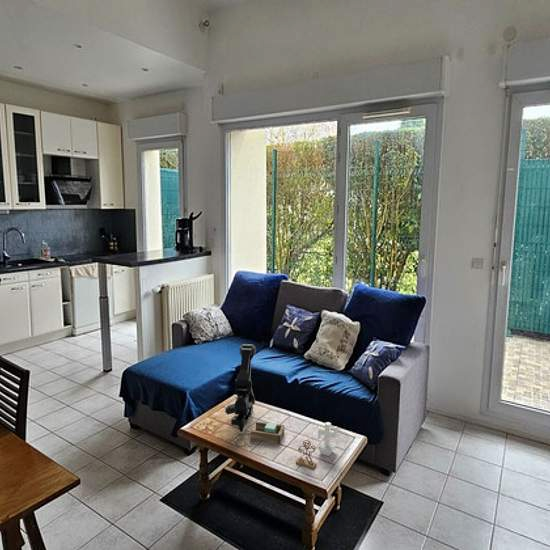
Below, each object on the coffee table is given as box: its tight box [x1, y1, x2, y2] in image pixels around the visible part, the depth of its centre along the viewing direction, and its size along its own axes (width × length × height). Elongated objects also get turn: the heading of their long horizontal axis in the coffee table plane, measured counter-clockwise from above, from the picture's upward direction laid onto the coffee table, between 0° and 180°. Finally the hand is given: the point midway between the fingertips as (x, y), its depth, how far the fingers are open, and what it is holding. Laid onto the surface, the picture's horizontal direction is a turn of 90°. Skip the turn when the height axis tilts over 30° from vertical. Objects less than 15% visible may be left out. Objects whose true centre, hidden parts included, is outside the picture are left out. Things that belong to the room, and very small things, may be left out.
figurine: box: [316, 421, 338, 457], centre depth 199 cm, size 7×9×15 cm
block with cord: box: [238, 422, 278, 435], centre depth 214 cm, size 5×19×6 cm, turn 77°
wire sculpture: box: [295, 439, 317, 471], centre depth 190 cm, size 9×4×12 cm, turn 63°
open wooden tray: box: [250, 420, 285, 445], centre depth 213 cm, size 10×15×4 cm
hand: (242, 429), depth 216 cm, fingers closed on block with cord, 3 cm apart
